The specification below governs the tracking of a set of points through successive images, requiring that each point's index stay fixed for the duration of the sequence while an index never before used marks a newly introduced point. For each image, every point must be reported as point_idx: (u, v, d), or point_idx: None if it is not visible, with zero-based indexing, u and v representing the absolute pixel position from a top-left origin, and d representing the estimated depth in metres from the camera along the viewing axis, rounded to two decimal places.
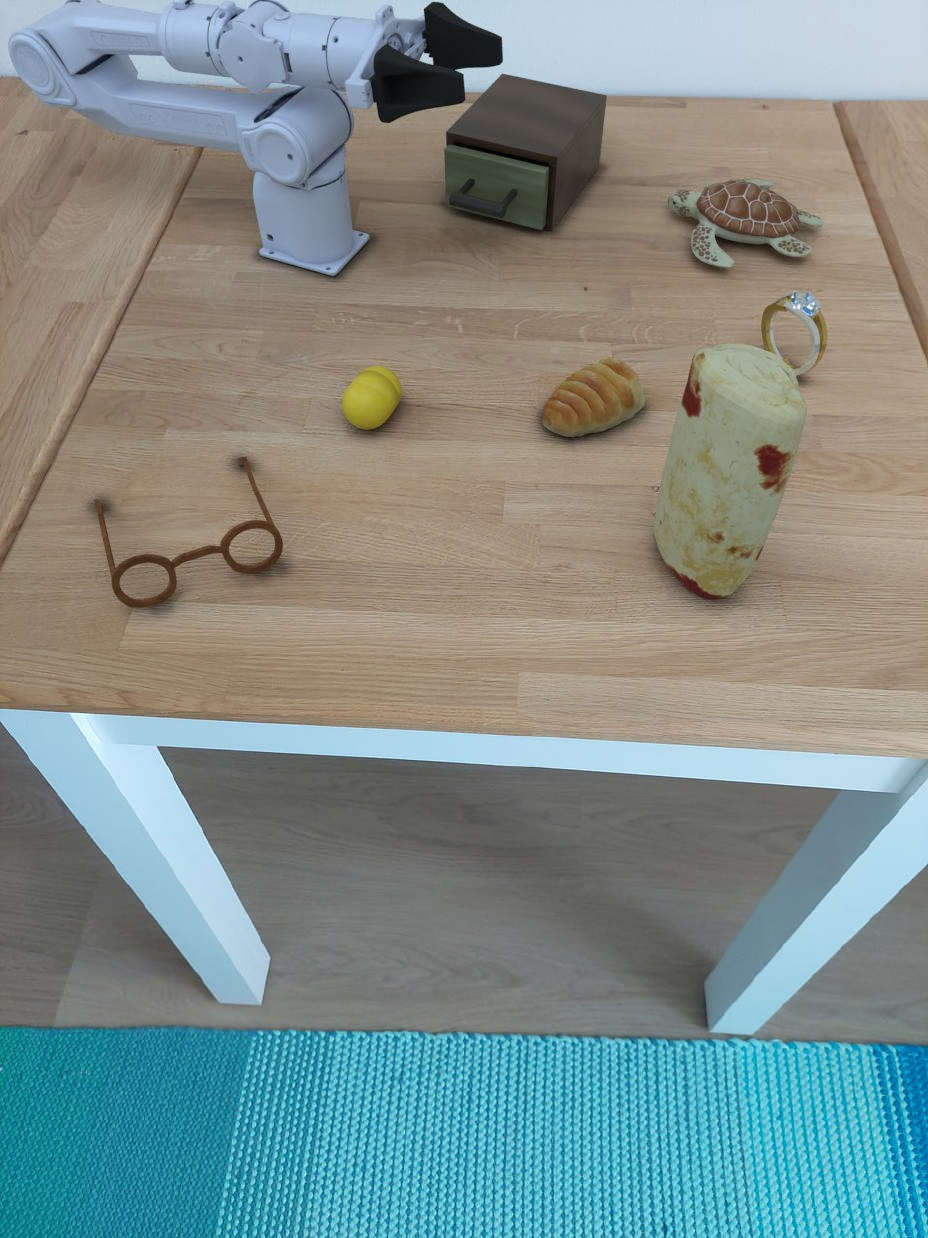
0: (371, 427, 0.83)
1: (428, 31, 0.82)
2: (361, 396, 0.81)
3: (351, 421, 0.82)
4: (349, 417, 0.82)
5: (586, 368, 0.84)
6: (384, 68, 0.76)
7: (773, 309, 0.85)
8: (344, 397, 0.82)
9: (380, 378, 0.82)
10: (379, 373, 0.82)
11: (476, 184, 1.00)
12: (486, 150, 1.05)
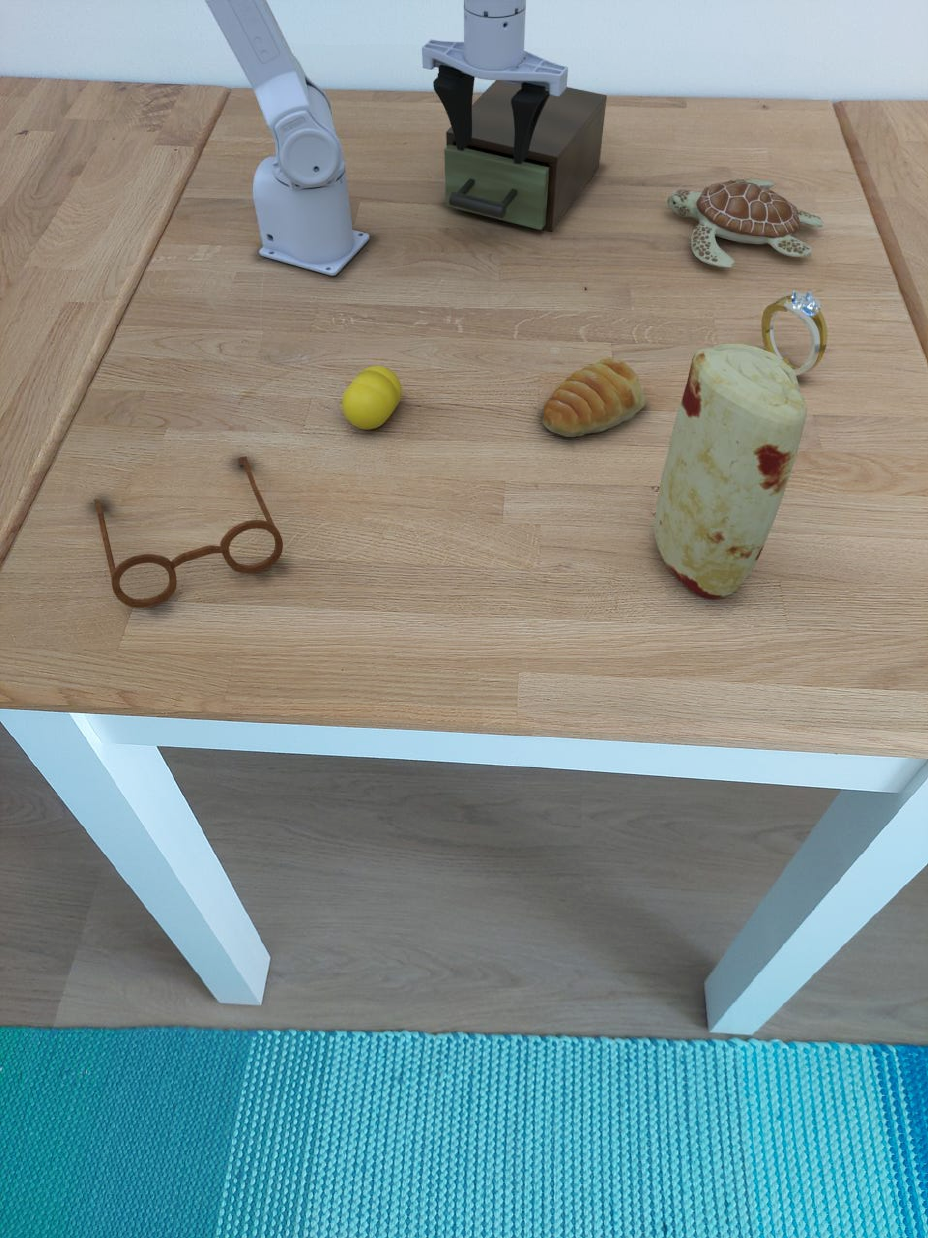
0: (371, 427, 0.83)
1: None
2: (361, 396, 0.81)
3: (351, 421, 0.82)
4: (349, 417, 0.82)
5: (586, 368, 0.84)
6: (549, 94, 0.91)
7: (773, 309, 0.85)
8: (344, 397, 0.82)
9: (380, 378, 0.82)
10: (379, 373, 0.82)
11: (476, 184, 1.00)
12: (486, 150, 1.05)
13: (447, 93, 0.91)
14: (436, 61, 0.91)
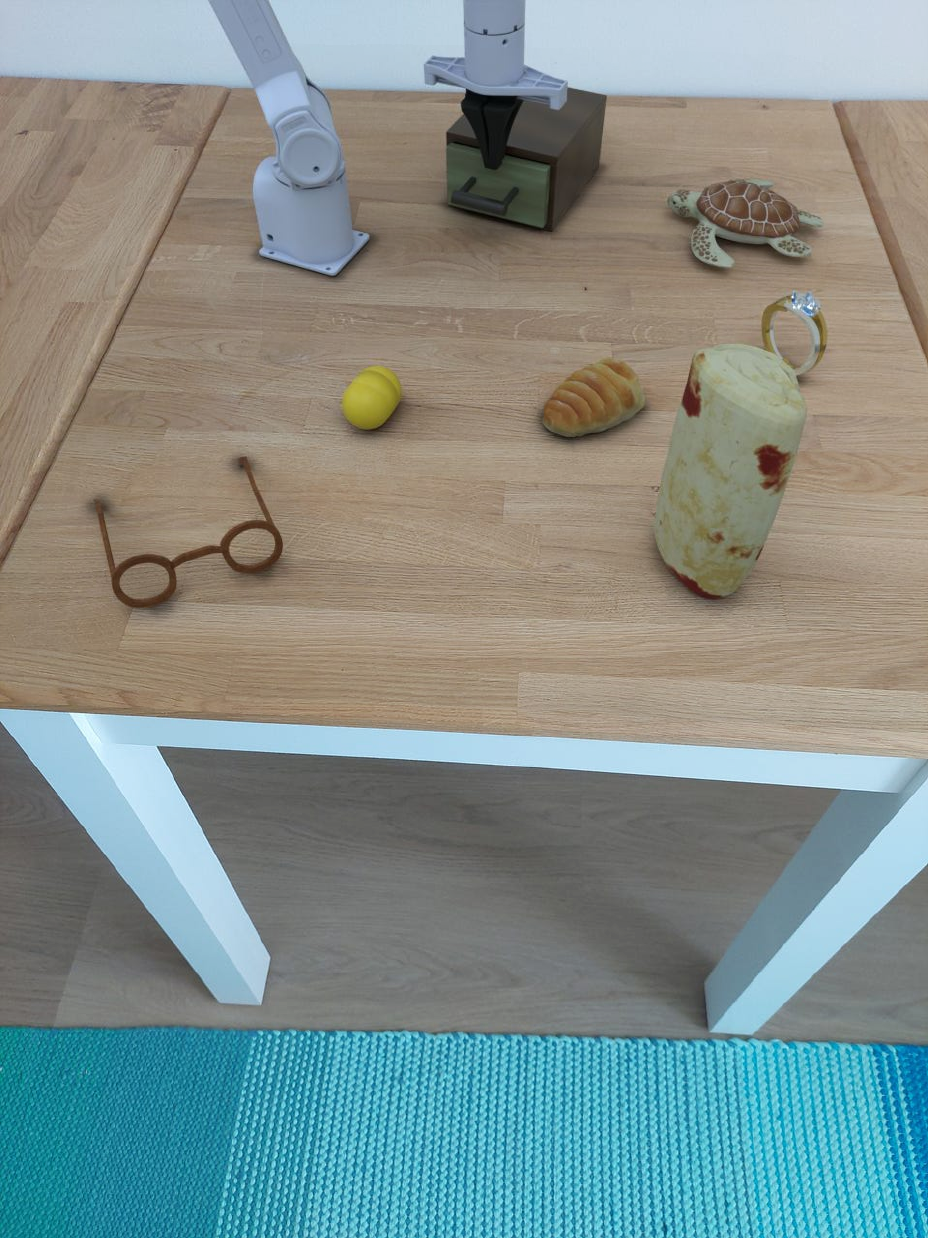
0: (371, 427, 0.83)
1: None
2: (361, 396, 0.81)
3: (351, 421, 0.82)
4: (349, 417, 0.82)
5: (586, 368, 0.84)
6: (522, 101, 0.93)
7: (773, 309, 0.85)
8: (344, 397, 0.82)
9: (380, 378, 0.82)
10: (379, 373, 0.82)
11: (478, 182, 1.01)
12: None
13: (474, 113, 0.92)
14: (438, 77, 0.93)
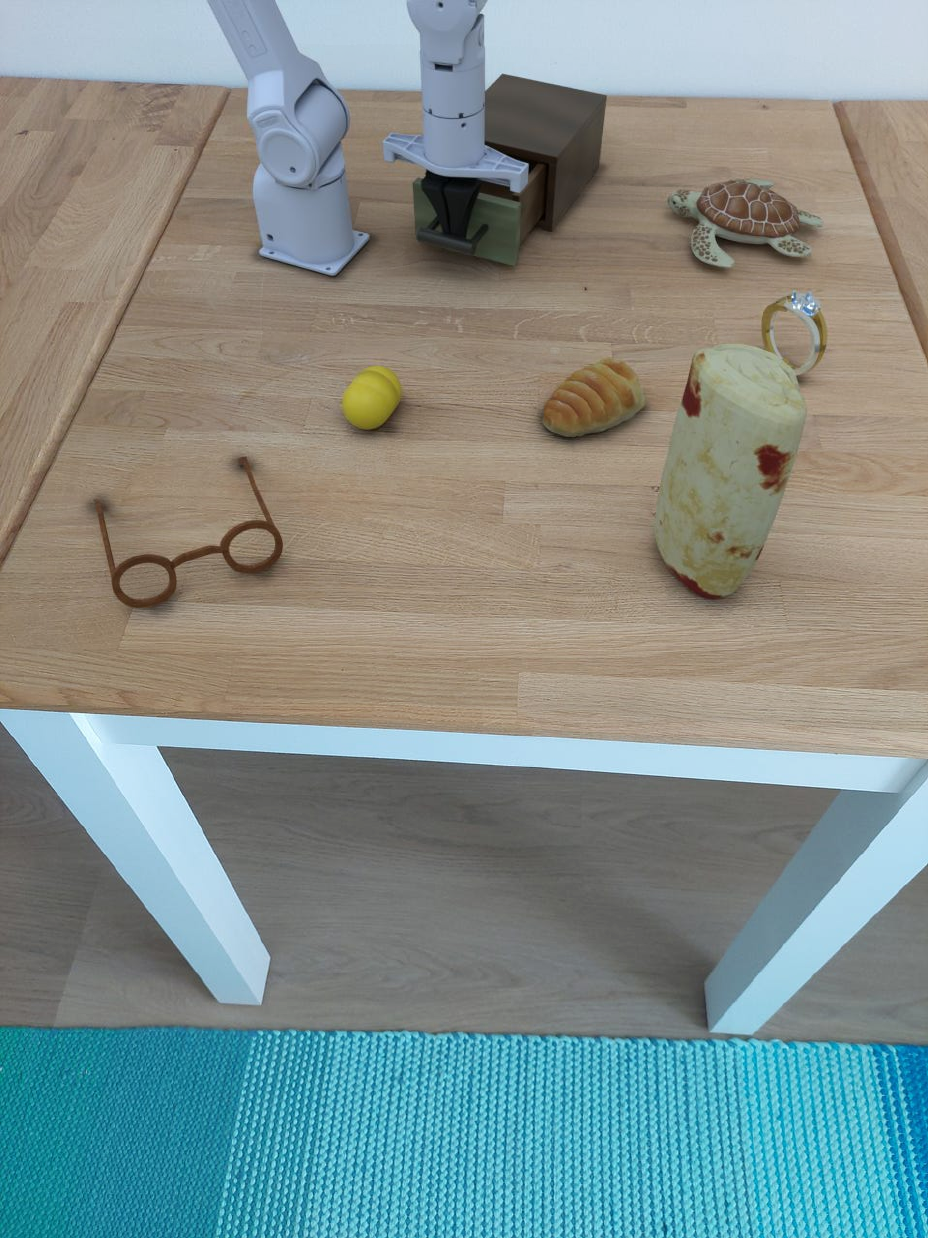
0: (371, 427, 0.83)
1: None
2: (361, 396, 0.81)
3: (351, 421, 0.82)
4: (349, 417, 0.82)
5: (586, 368, 0.84)
6: (484, 181, 0.91)
7: (773, 309, 0.85)
8: (344, 397, 0.82)
9: (380, 378, 0.82)
10: (379, 373, 0.82)
11: None
12: None
13: (435, 193, 0.90)
14: (397, 154, 0.91)
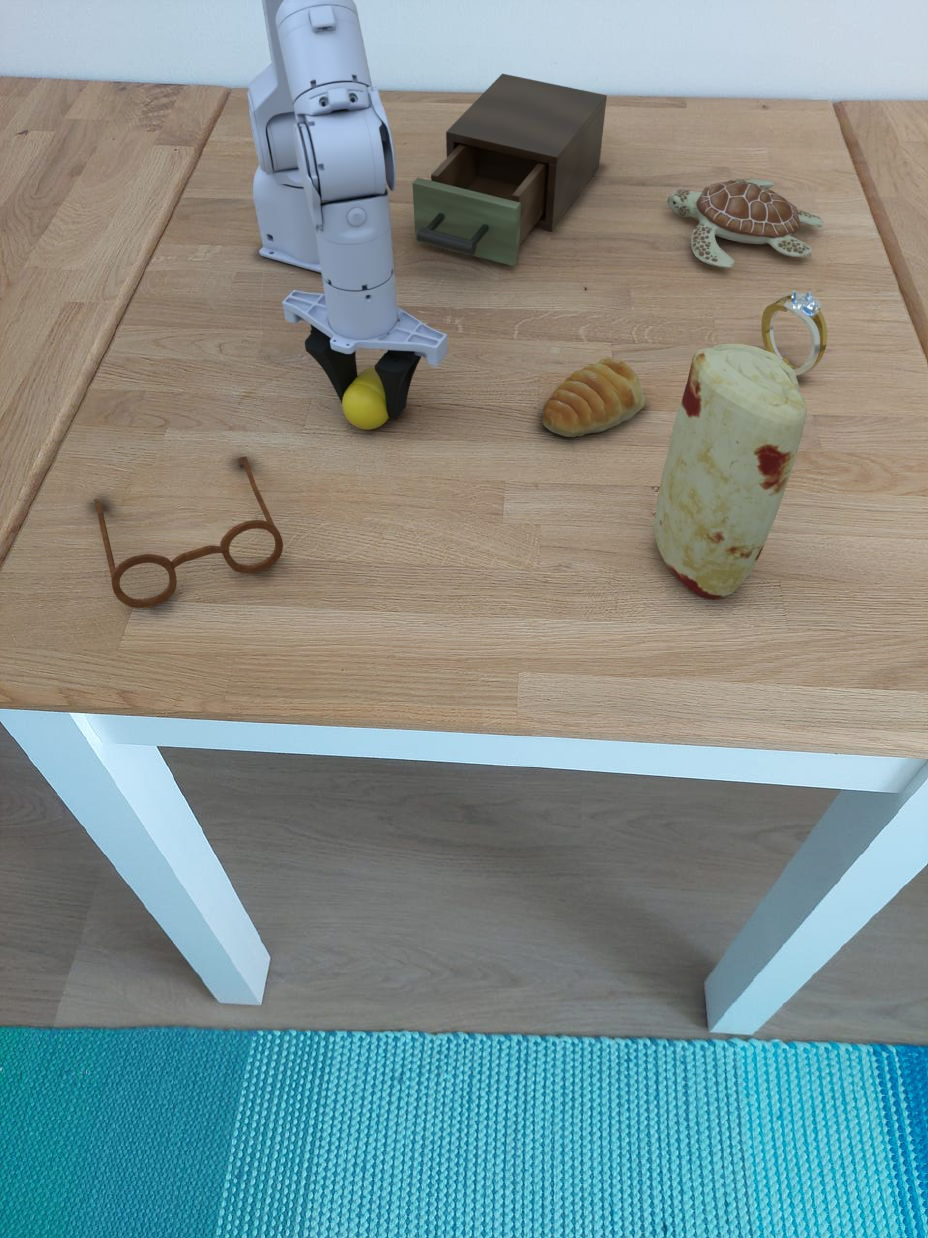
0: (371, 427, 0.83)
1: None
2: (361, 396, 0.81)
3: (351, 421, 0.82)
4: (349, 417, 0.82)
5: (586, 368, 0.84)
6: None
7: (773, 309, 0.85)
8: (344, 397, 0.82)
9: None
10: None
11: (446, 219, 0.96)
12: (458, 182, 1.01)
13: None
14: None
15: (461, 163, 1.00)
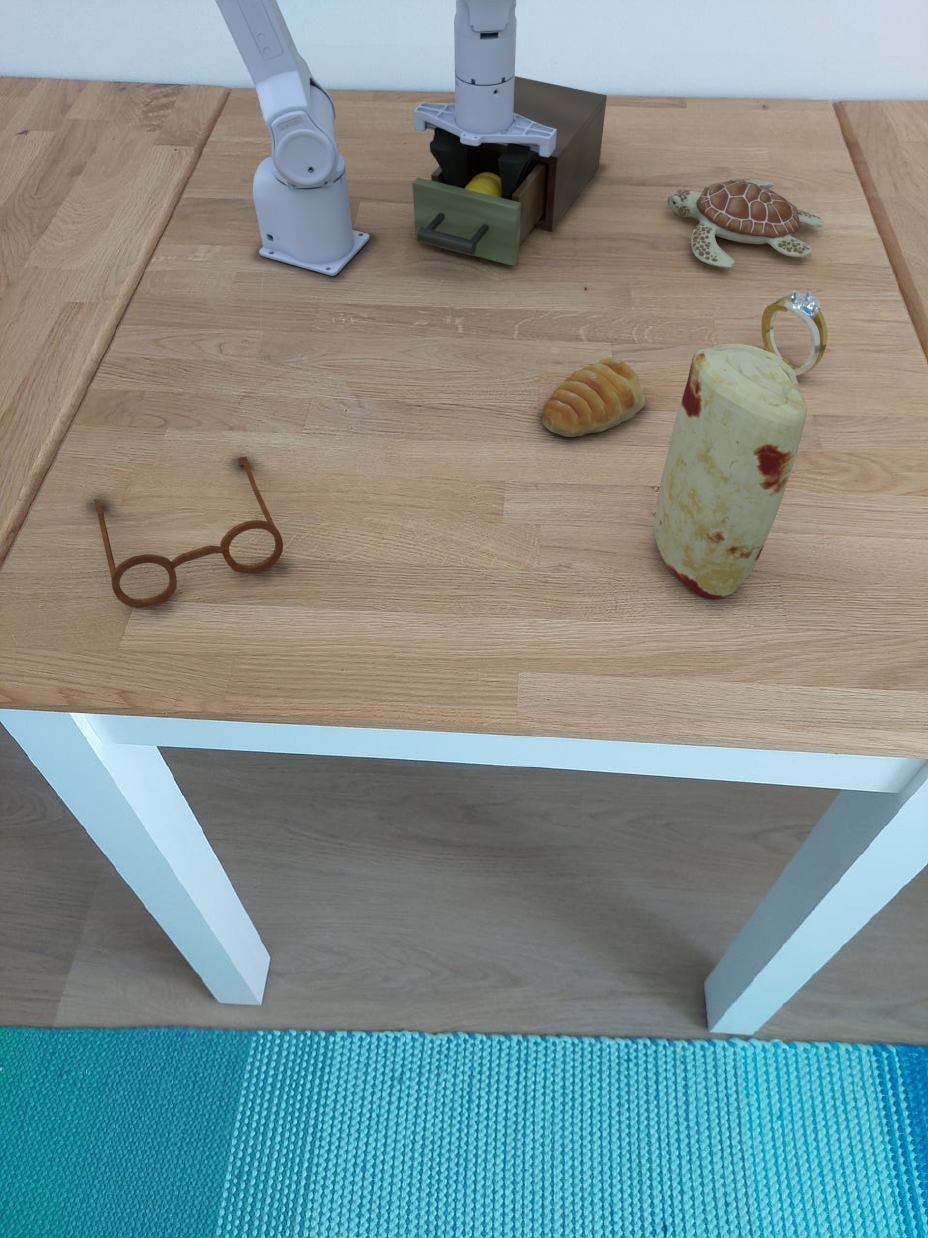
0: None
1: None
2: None
3: None
4: None
5: (586, 368, 0.84)
6: None
7: (773, 309, 0.85)
8: None
9: (490, 179, 0.97)
10: (489, 175, 0.97)
11: (446, 218, 0.96)
12: None
13: None
14: None
15: None
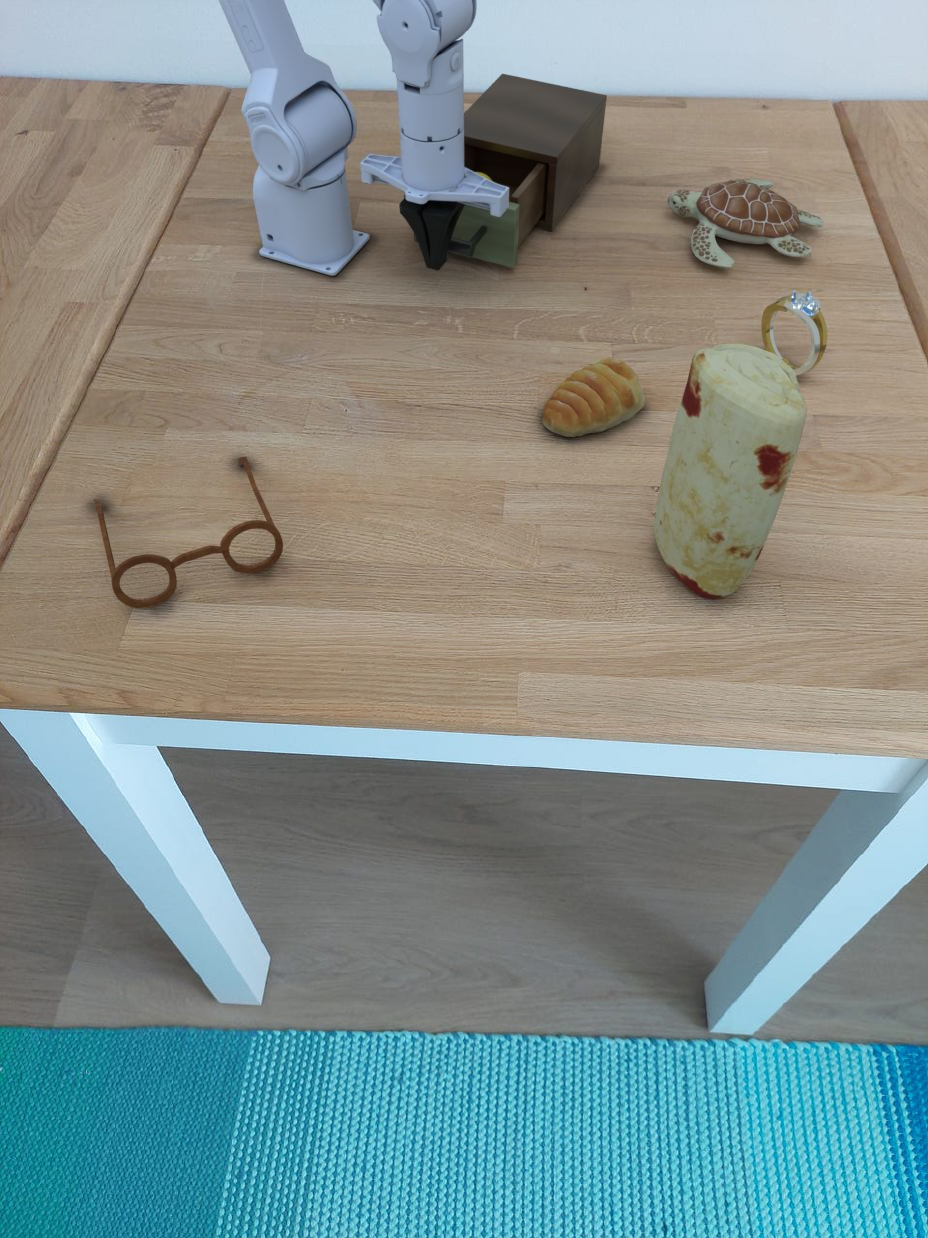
0: None
1: None
2: None
3: None
4: None
5: (586, 368, 0.84)
6: None
7: (773, 309, 0.85)
8: None
9: None
10: None
11: None
12: None
13: None
14: None
15: None
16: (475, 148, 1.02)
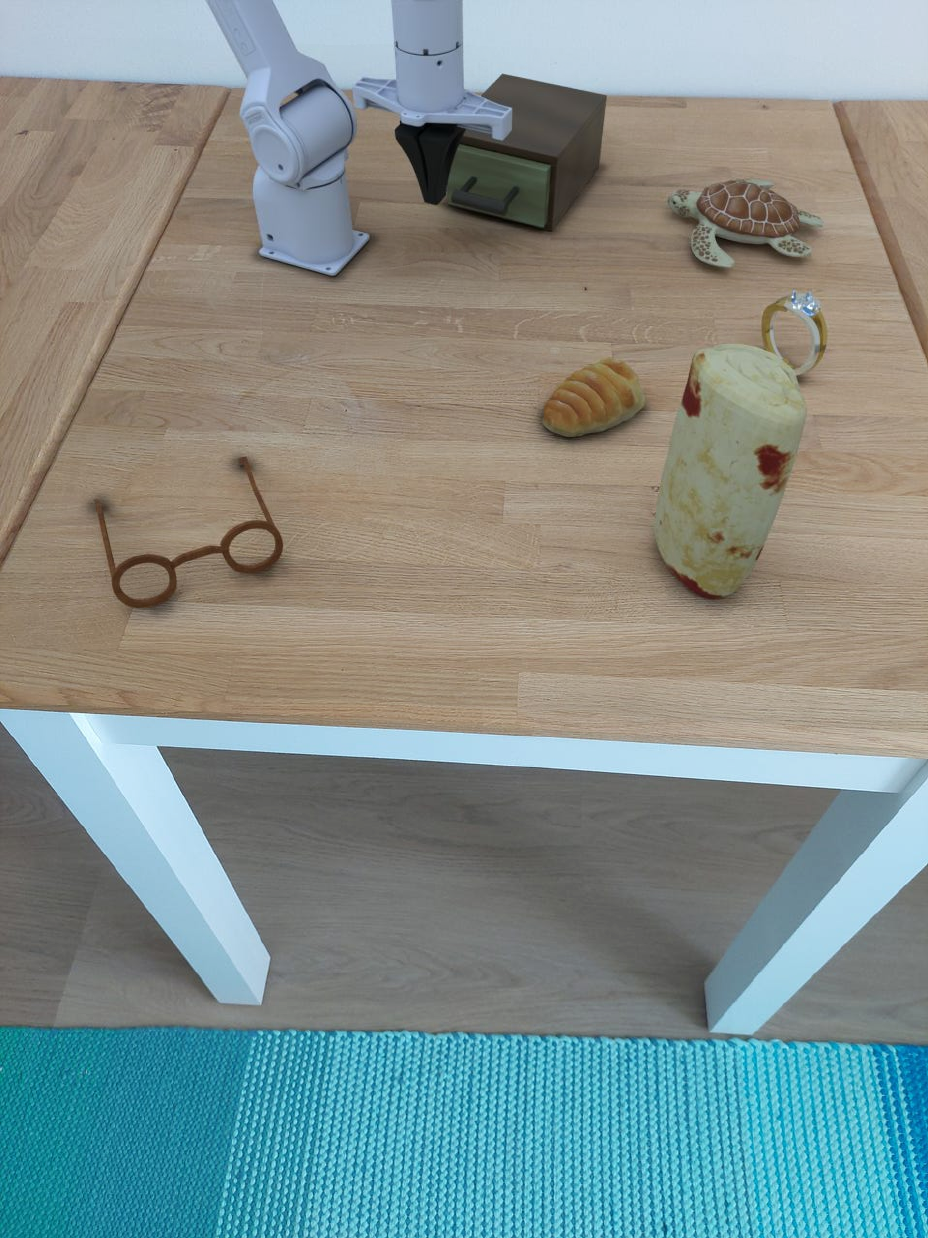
0: None
1: None
2: None
3: None
4: None
5: (586, 368, 0.84)
6: None
7: (773, 309, 0.85)
8: None
9: None
10: None
11: (478, 182, 1.01)
12: None
13: None
14: None
15: None
16: None
